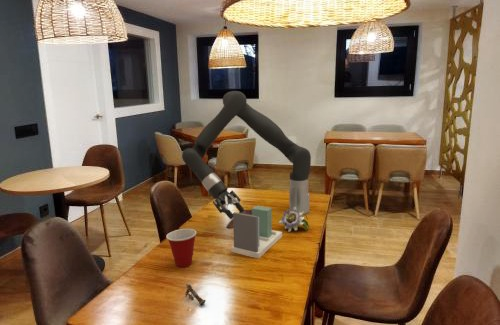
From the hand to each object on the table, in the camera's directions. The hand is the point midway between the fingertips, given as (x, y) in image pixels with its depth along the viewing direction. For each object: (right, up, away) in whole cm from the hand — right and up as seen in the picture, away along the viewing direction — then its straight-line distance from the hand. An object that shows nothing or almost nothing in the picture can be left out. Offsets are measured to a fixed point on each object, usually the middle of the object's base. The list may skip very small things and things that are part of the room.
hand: (237, 214), depth 154 cm
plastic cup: (-19, -15, -22) cm, 33 cm away
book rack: (+8, -11, -7) cm, 15 cm away
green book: (+10, -8, -4) cm, 14 cm away
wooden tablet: (+2, -6, +21) cm, 22 cm away
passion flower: (+25, -8, +8) cm, 27 cm away
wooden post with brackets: (-12, -20, -45) cm, 50 cm away
